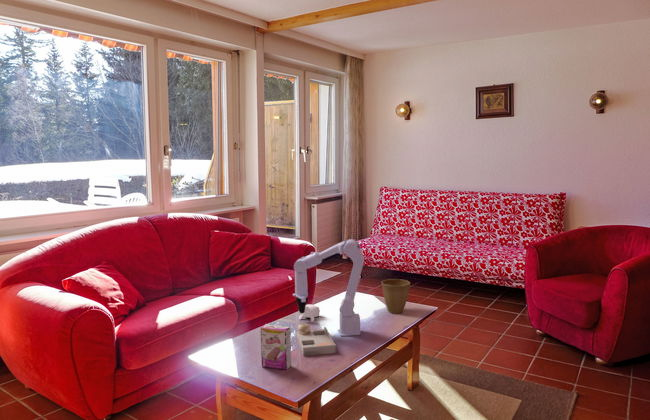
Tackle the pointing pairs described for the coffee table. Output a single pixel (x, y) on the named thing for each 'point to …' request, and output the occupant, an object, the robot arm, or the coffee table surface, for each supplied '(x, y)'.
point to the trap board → (316, 342)
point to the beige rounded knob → (304, 329)
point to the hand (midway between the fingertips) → (301, 312)
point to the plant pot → (395, 294)
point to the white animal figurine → (310, 312)
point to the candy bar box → (276, 346)
